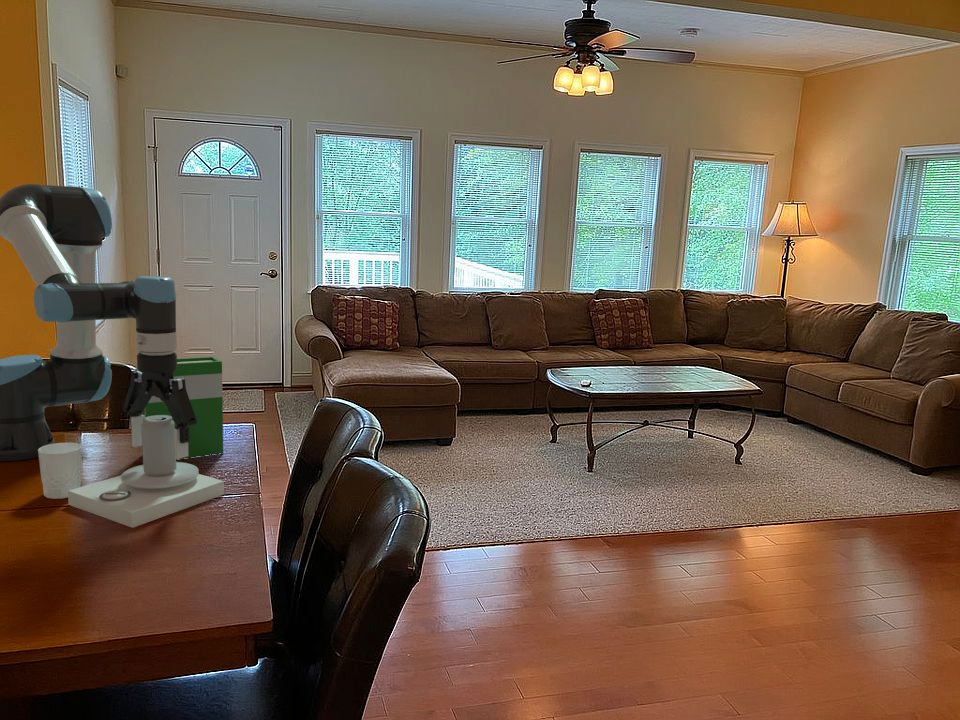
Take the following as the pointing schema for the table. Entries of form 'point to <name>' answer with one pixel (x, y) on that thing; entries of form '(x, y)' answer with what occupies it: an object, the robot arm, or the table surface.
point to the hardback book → (199, 404)
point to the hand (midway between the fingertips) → (159, 451)
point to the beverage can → (158, 445)
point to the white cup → (60, 468)
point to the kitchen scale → (146, 494)
